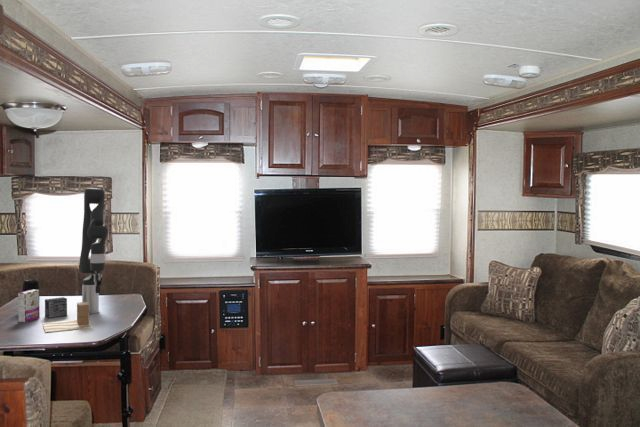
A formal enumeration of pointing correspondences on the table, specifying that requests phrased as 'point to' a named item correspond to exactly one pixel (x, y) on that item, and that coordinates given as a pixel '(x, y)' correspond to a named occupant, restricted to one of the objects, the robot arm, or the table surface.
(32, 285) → the portable speaker
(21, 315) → the candy bar box
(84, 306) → the walnut block
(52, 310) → the small box
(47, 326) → the beige cloth mat
